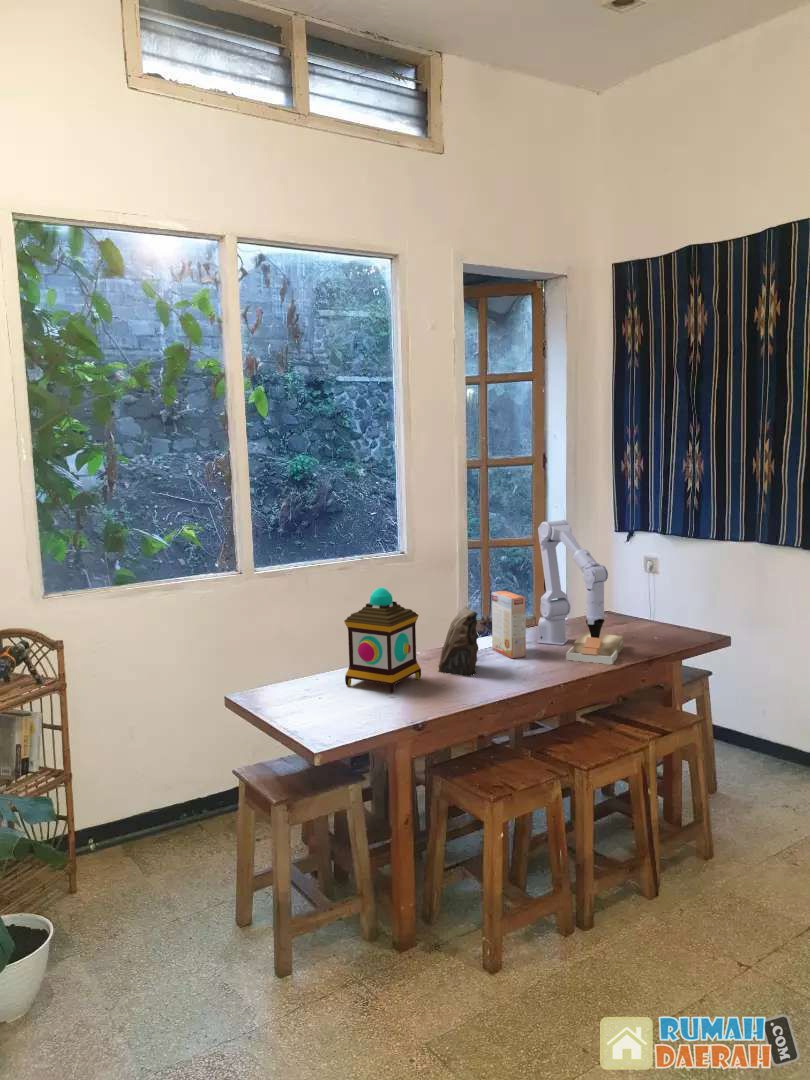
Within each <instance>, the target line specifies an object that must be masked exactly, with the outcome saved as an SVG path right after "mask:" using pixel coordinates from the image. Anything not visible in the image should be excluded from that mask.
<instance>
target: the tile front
mask: <svg viewBox="0 0 810 1080" xmlns="http://www.w3.org/2000/svg"><path fill="white" fill-rule="evenodd" d="M581 654H588V655H599V651H598V650H597V649H594V648H582V649H581Z"/></svg>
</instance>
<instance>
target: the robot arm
mask: <svg viewBox="0 0 810 1080" xmlns="http://www.w3.org/2000/svg"><path fill="white" fill-rule="evenodd" d="M537 532H538V533H537V534H538V539H539V546H540V553H541V559H542V561H541V562H542V568H543V569H542V570H543V578H544V583H545V592H544V594H543V595H541V597H540V607H539V608H540V609H539V610H540V614H541V615H542V616H540V617H539V620H538V624H537V626H538V628H537V629H538V631H537V634H538V635H537V637H538V641H537V643H538V644H546V645H547V644H548V645H558V646H559V645H560V646H564V645H565V644H567V642H569V639H570V638H566V619H567V618H568V615H569V614H570V612H571V604H570V602H569V598H568V595H567V593H565V592H564V591H563V590H562V585H561V577H560V571H559V563H558V555H557V546H558V545H559V544H560V543H561V542H562V544H563V545H564V546H565V547H566V548H567V549H568V551H570V553H571V554H572V555H573V561H574V562H575V565H576V566H578V568H579V569H580V571H581V572H582V573H583V574H582V579H583V581H584V586H585V588H586V613H585V617H586V620H585V623H586V625H587V627H588V629H589V633H590V635H591V637H593V638H599V636H600V634H601V630H602V627H603V626H604V623H605V619H604V618H608V616H609V615H608V614H607V613H606V614H605V582H607V580H608V578H609V573H608V569H607V567H606V566H605V565H603V564H600V563H598V562H597V561H596V559H595V558H594V557H593V555H591V553H590V551H589V550H588V549H583V548H582V547H581V545H580V543H579V542H578V541H577V539H576V537H575V536H574V535H573V533H572V526H571V525H570V523H569V522H568V521H567V520H566V519H561V520H552V521H542V522H541V523H540V525H539V526H538V528H537Z"/></svg>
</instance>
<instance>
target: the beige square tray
mask: <svg viewBox="0 0 810 1080" xmlns="http://www.w3.org/2000/svg"><path fill="white" fill-rule="evenodd" d="M587 637H591V635H590V632H583V633H582V634H581V635H580V636H579V637H578V638H577V639H576V640H575V641H574V642H573V647H574V653H581V649H582V648H584V645H585V642H586V638H587ZM599 638H602V645H601V649H600V653H599V655H604V656H612V654H613V653H614V652H615V650H616V651H617V656H618V655H619V654H620V652H621V651H622V650H623V649H624V635H615V634H604V633H603V634H602V633H600V636H599ZM621 649H622V650H621ZM618 653H619V654H618Z"/></svg>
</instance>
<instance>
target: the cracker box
mask: <svg viewBox="0 0 810 1080" xmlns="http://www.w3.org/2000/svg"><path fill="white" fill-rule="evenodd" d="M526 600H527V599H526V596H522V595H520V594H517V593H513V592H510V591H508V590H499V591H498V590H497V591H492V593H491V608H492V609H491V610H492V613H491V614H492V615H491V616H492V617H491V618H492V620H491V621H492V623H491V624H492V626H491V629H492V631H491V633H492V650H493V649H494V650H493V651H495V650H496V652H497V651H498V653H499V654H502V655H503V656H505V657H508V658H510V659H517V658H518V659H519V658H525V657H526V655H527V654H526V653H527V649H526V647H527V644H526V642H527V640H526V639H527V637H526V636H527V635H526V634H527V633H526V631H527V626H526V624H527V623H526V619H527V618H526V614H527V613H526V612H527V611H526V609H527V608H526V607H527V605H526V603H527V602H526Z"/></svg>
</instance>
